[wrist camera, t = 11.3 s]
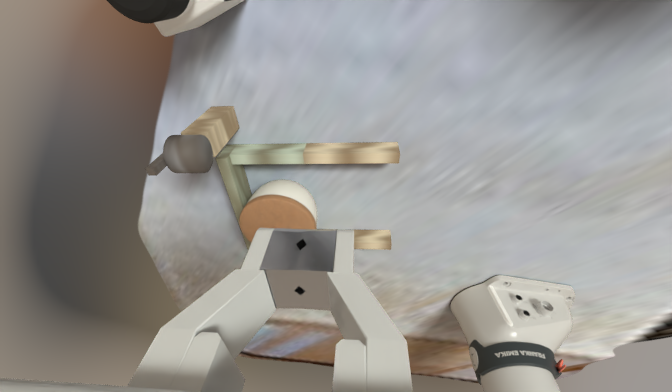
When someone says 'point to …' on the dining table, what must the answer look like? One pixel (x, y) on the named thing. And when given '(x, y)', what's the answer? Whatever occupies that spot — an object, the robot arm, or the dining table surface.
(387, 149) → the bay
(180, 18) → the medicine bottle
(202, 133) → the winch post
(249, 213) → the lidded jar
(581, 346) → the dining table surface
